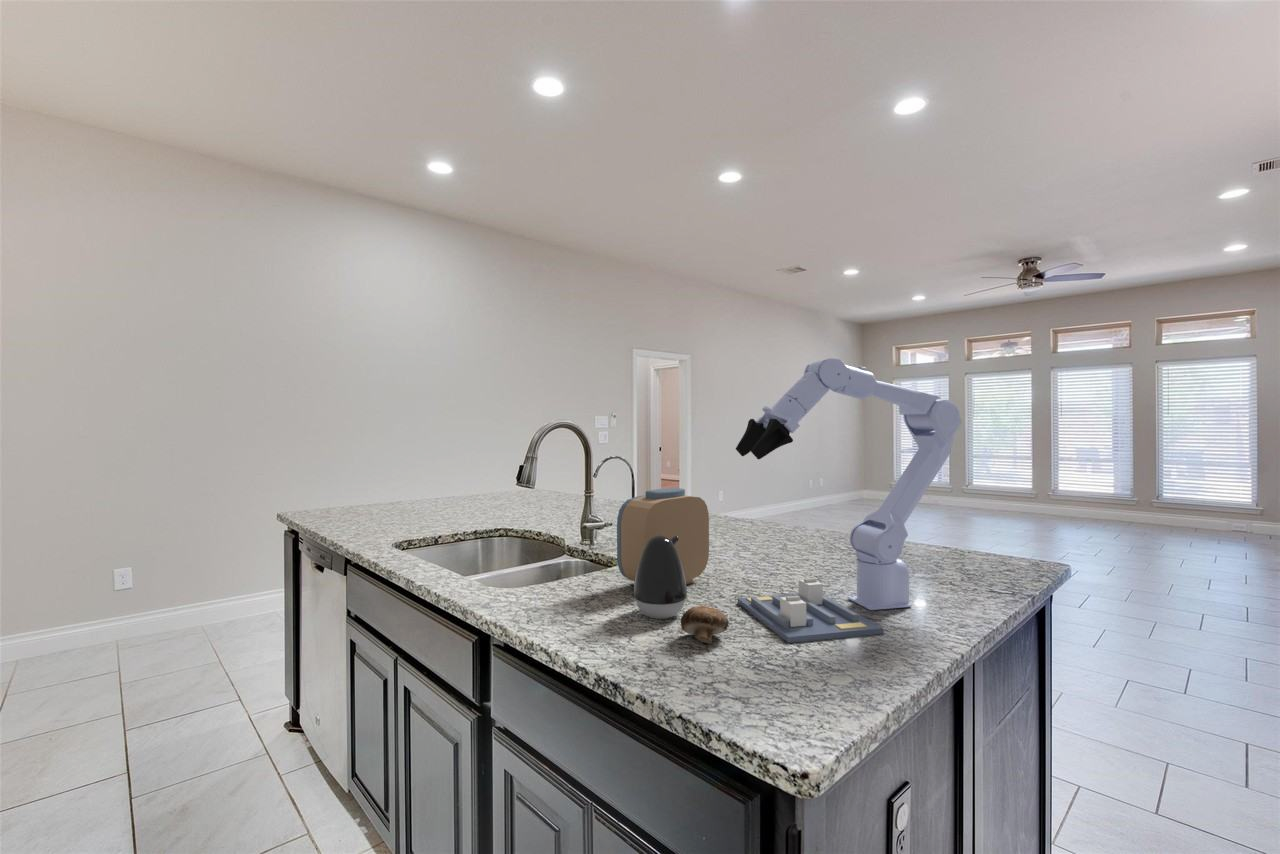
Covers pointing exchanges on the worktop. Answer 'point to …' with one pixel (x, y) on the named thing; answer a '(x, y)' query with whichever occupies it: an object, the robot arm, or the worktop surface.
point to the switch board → (810, 619)
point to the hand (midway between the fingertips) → (746, 454)
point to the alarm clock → (663, 529)
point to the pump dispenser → (660, 579)
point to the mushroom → (704, 622)
